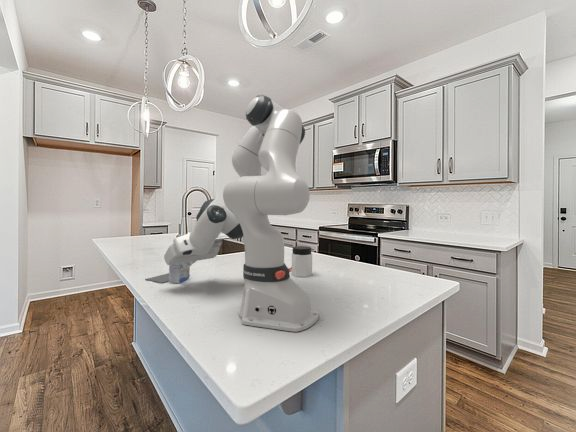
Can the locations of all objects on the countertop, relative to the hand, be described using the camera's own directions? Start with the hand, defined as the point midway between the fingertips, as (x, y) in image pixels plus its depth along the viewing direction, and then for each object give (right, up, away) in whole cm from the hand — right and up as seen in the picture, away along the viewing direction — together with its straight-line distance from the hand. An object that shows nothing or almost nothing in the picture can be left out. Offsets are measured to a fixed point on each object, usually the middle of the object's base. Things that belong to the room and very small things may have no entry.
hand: (186, 265), depth 114 cm
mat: (-10, -6, +8) cm, 15 cm away
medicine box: (-4, -7, +4) cm, 9 cm away
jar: (+45, -7, +15) cm, 48 cm away
